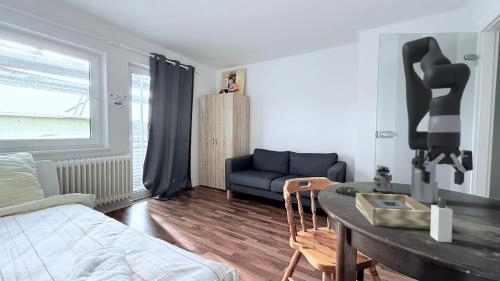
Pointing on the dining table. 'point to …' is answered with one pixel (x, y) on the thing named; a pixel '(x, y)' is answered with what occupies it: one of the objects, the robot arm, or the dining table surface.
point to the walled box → (394, 211)
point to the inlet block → (389, 204)
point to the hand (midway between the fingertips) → (441, 183)
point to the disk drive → (350, 191)
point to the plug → (441, 221)
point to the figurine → (382, 179)
